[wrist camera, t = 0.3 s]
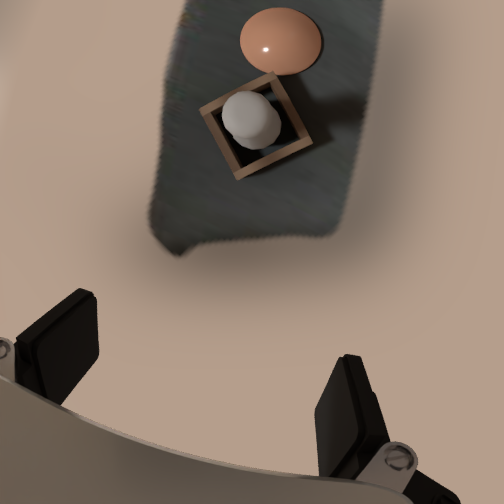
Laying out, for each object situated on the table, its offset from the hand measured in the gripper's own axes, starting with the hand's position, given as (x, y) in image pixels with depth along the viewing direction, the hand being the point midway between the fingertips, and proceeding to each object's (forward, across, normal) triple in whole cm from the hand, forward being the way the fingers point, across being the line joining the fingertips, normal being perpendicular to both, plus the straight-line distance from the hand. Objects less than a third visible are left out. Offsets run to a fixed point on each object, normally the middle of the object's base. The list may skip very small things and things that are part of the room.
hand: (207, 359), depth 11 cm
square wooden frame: (+30, +3, -10) cm, 32 cm away
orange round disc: (+30, +2, -22) cm, 37 cm away
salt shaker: (+30, +3, -10) cm, 32 cm away
